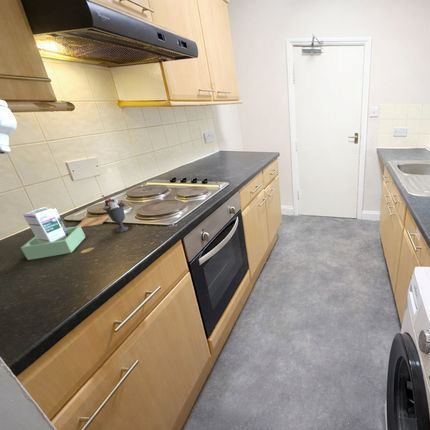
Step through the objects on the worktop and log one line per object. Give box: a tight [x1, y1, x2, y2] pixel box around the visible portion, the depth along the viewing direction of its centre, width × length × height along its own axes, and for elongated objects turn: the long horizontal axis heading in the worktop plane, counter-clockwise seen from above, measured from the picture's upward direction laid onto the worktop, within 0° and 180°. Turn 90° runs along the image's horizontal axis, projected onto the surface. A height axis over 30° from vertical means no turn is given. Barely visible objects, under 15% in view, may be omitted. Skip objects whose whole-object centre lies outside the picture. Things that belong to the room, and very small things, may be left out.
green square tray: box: [20, 225, 86, 261], centre depth 90 cm, size 11×11×5 cm
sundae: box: [101, 194, 130, 233], centre depth 100 cm, size 7×7×15 cm
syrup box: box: [22, 206, 69, 244], centre depth 88 cm, size 6×6×14 cm
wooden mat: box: [76, 214, 110, 228], centre depth 110 cm, size 9×9×1 cm
